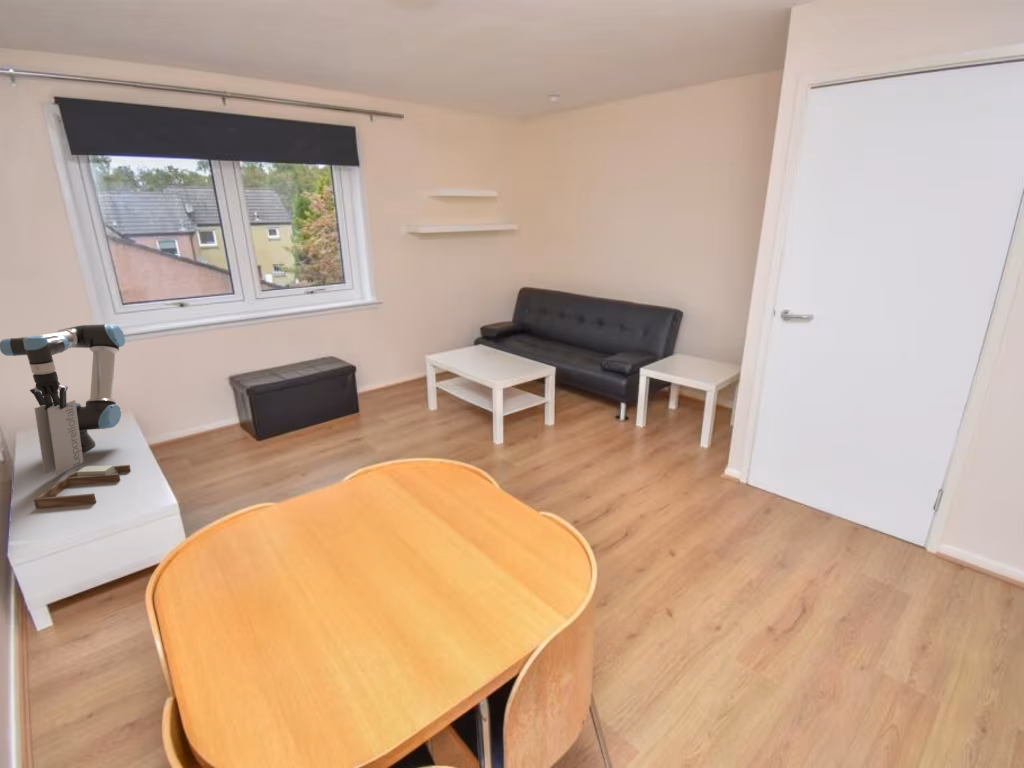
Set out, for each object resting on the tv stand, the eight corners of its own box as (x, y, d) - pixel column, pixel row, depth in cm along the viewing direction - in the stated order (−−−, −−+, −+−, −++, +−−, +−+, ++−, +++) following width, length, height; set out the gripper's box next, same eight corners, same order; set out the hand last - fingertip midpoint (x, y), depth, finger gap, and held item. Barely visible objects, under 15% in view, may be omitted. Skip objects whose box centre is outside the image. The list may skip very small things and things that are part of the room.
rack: (80, 476, 226) (78, 468, 225) (131, 472, 230) (129, 464, 229) (36, 508, 199) (33, 499, 198) (94, 503, 203) (92, 494, 202)
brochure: (57, 474, 218) (47, 409, 211) (44, 473, 218) (34, 408, 211) (83, 462, 232) (75, 400, 225) (71, 461, 232) (62, 399, 225)
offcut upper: (87, 472, 225) (86, 466, 224) (115, 471, 226) (113, 465, 225) (78, 478, 220) (76, 471, 219) (106, 477, 220) (104, 471, 219)
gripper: (19, 375, 208) (35, 428, 215) (56, 373, 211) (71, 426, 217) (32, 371, 215) (47, 422, 222) (68, 369, 218) (81, 420, 224)
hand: (58, 424), depth 220 cm, fingers closed
